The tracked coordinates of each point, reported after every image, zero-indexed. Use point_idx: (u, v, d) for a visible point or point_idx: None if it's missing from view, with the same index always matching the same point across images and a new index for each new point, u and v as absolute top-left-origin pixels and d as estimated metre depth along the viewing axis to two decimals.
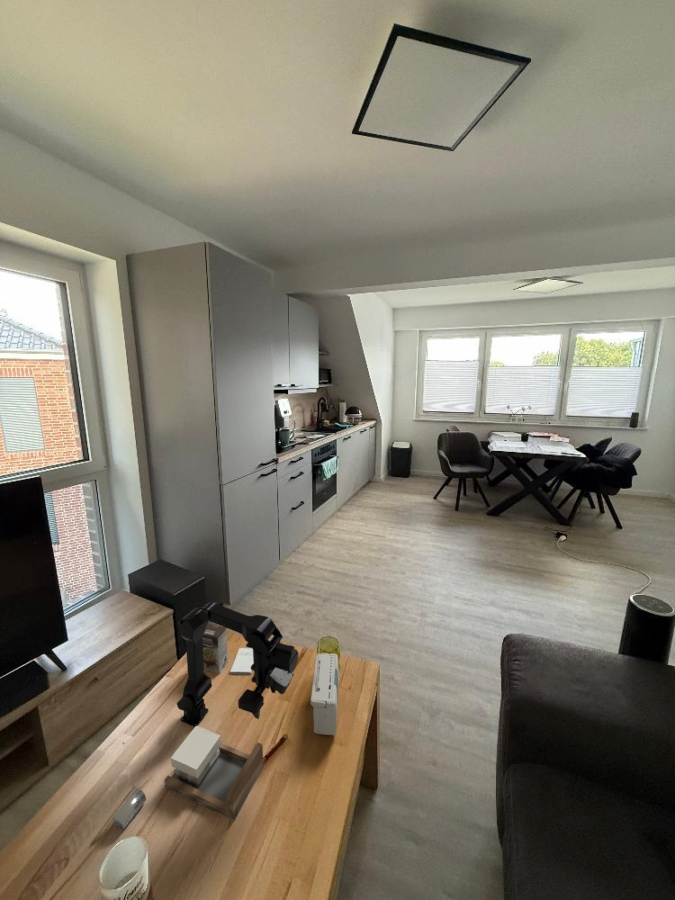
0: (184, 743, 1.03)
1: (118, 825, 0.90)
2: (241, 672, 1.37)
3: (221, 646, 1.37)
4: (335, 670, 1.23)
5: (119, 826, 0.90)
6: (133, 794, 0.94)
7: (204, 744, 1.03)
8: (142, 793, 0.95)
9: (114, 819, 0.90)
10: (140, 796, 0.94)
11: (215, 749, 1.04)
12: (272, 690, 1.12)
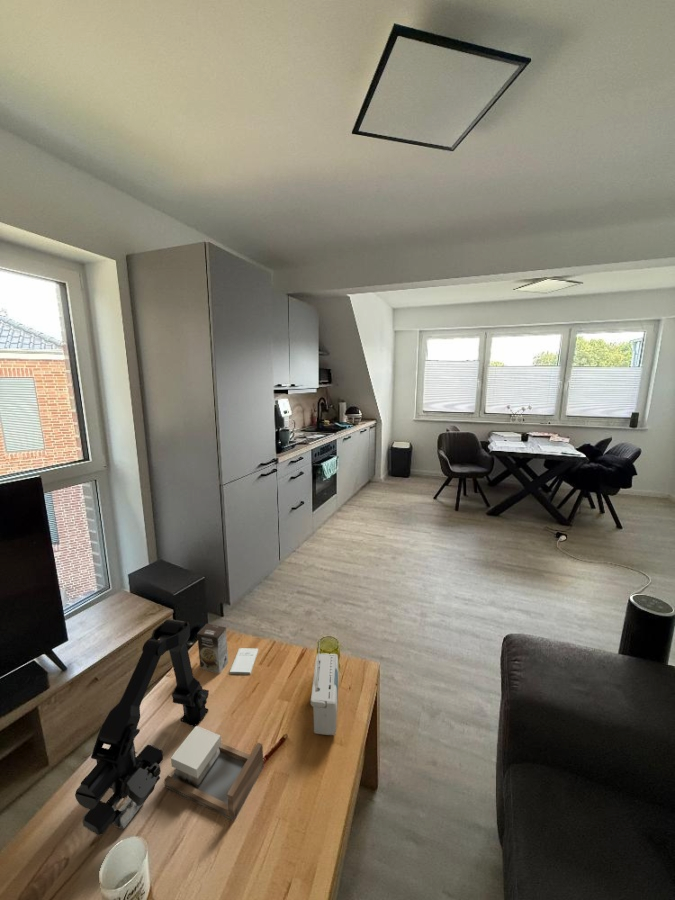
0: (184, 743, 1.03)
1: None
2: (241, 672, 1.37)
3: (221, 646, 1.37)
4: (335, 670, 1.23)
5: None
6: None
7: (204, 744, 1.03)
8: None
9: None
10: None
11: (215, 749, 1.04)
12: None
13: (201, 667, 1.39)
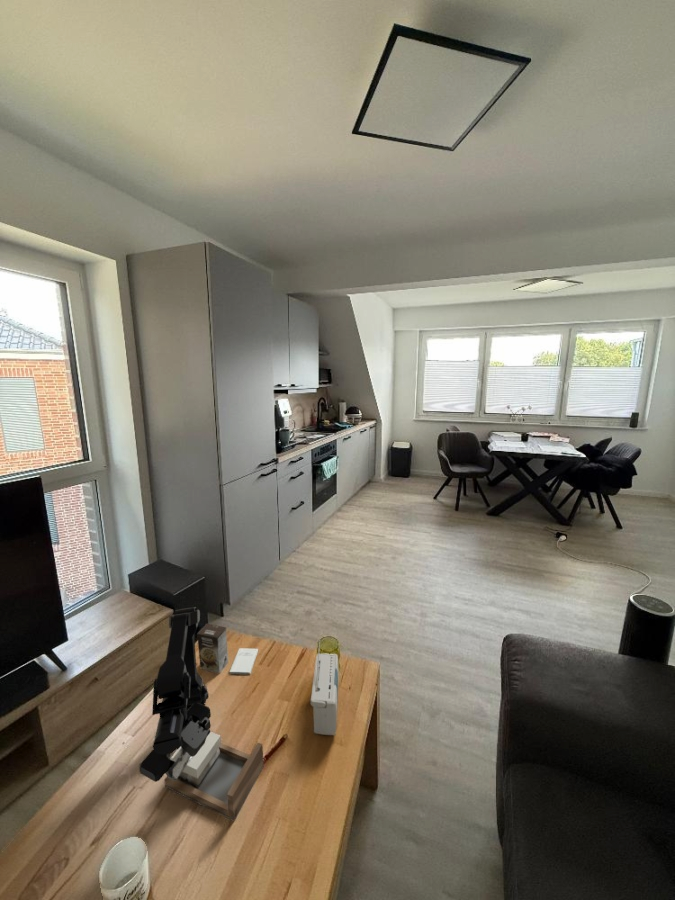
0: None
1: None
2: (240, 672, 1.37)
3: (221, 646, 1.37)
4: (335, 670, 1.23)
5: None
6: None
7: (204, 744, 1.03)
8: None
9: None
10: None
11: (215, 749, 1.04)
12: None
13: (201, 667, 1.39)
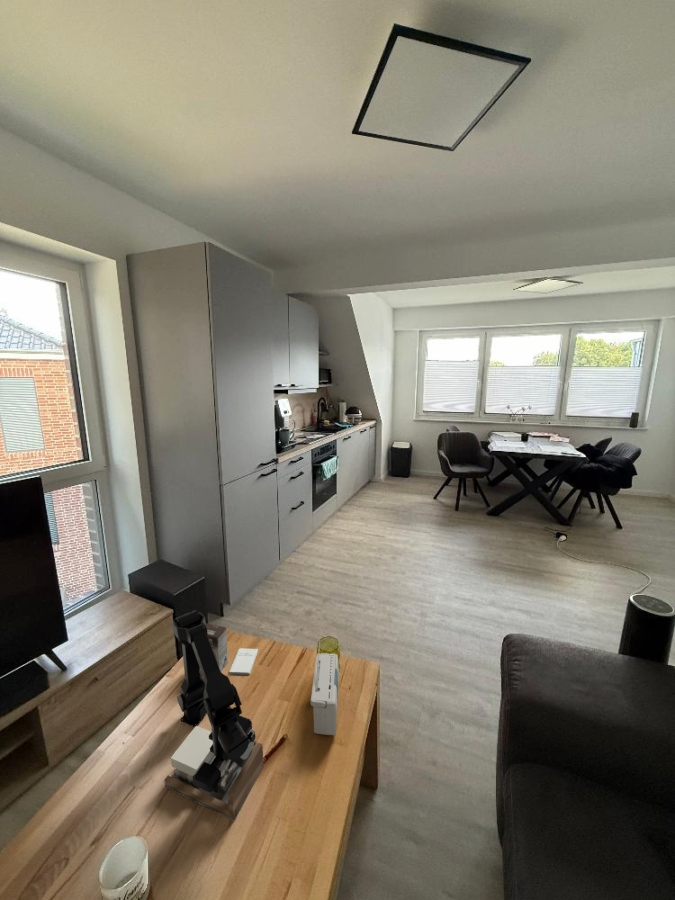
0: (184, 743, 1.03)
1: (219, 788, 0.97)
2: (240, 672, 1.37)
3: (221, 646, 1.37)
4: (335, 670, 1.23)
5: (220, 790, 0.97)
6: (229, 761, 1.01)
7: (204, 744, 1.03)
8: None
9: None
10: (235, 763, 1.01)
11: None
12: None
13: None
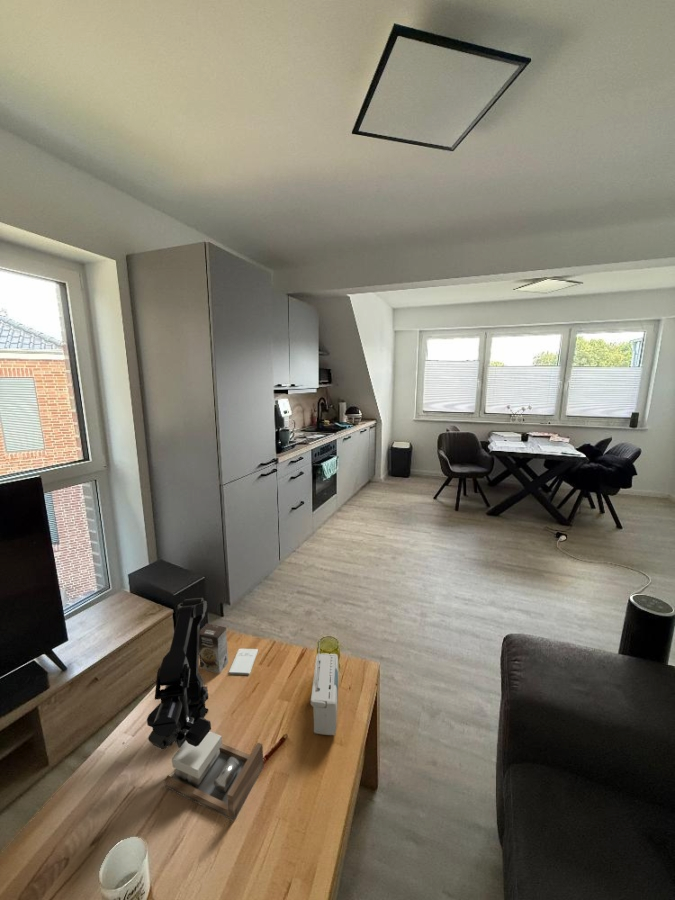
0: (185, 744, 1.03)
1: (219, 788, 0.97)
2: (240, 673, 1.37)
3: (221, 646, 1.37)
4: (335, 670, 1.23)
5: (220, 790, 0.97)
6: (229, 762, 1.01)
7: (205, 745, 1.03)
8: (237, 761, 1.02)
9: (215, 783, 0.97)
10: (236, 764, 1.01)
11: (216, 749, 1.03)
12: None
13: (201, 667, 1.39)
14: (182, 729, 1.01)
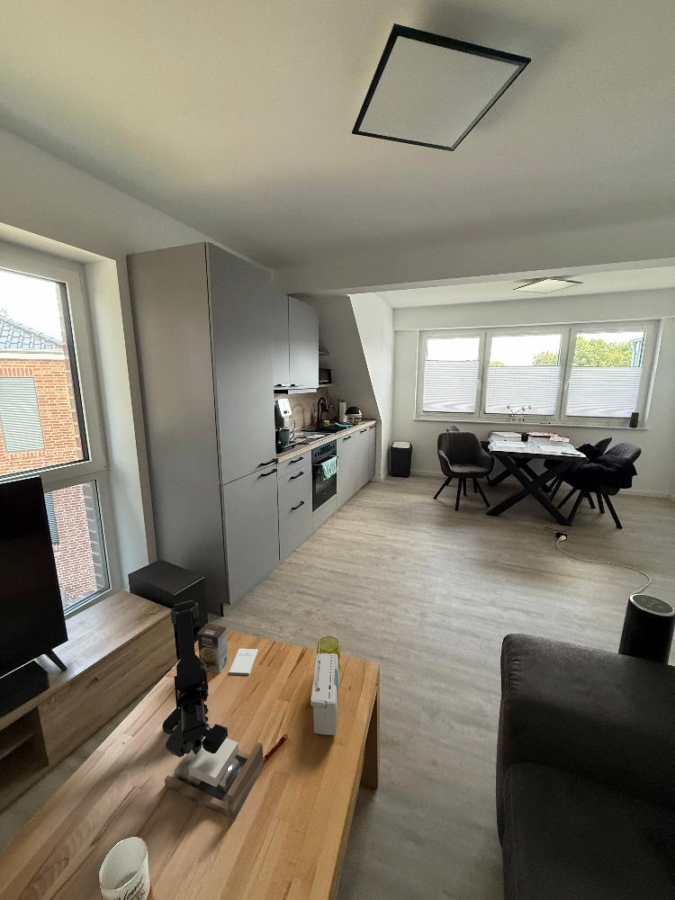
0: (201, 751, 1.01)
1: (219, 788, 0.97)
2: (240, 673, 1.37)
3: (221, 646, 1.37)
4: (335, 670, 1.23)
5: (220, 790, 0.97)
6: None
7: (222, 752, 1.01)
8: (237, 761, 1.02)
9: None
10: (236, 764, 1.01)
11: (233, 756, 1.02)
12: None
13: None
14: None
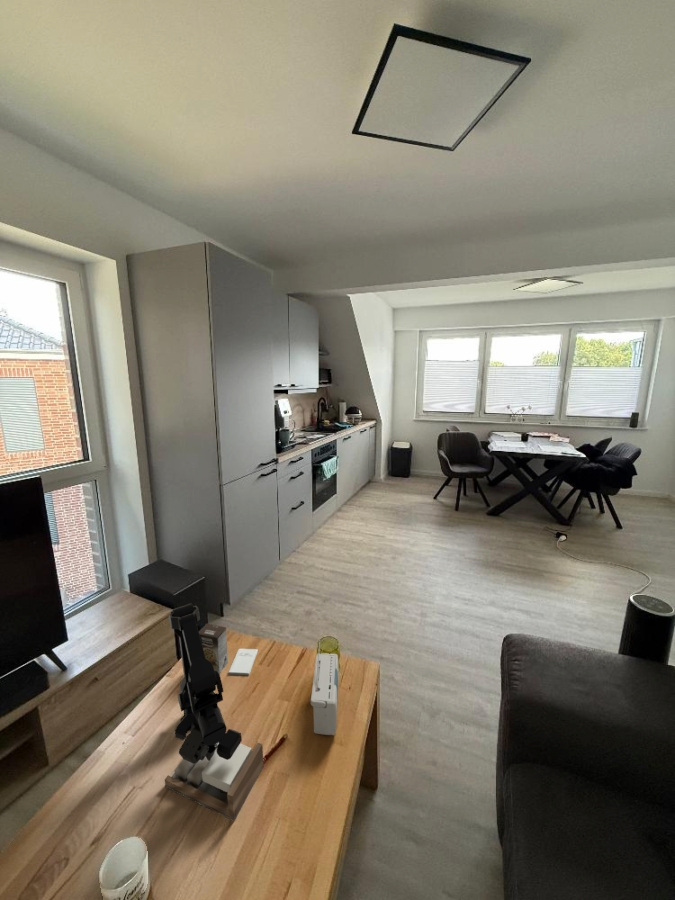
0: (214, 756, 0.99)
1: None
2: (239, 673, 1.37)
3: (221, 646, 1.37)
4: (335, 670, 1.23)
5: (220, 790, 0.97)
6: None
7: (235, 758, 0.99)
8: None
9: None
10: None
11: None
12: None
13: None
14: None
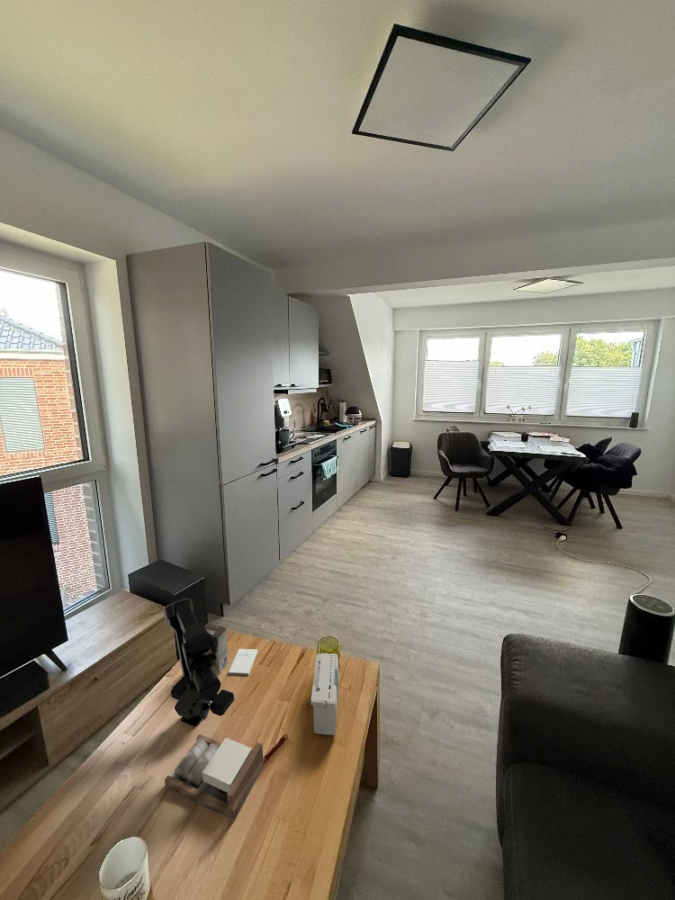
0: (215, 756, 0.99)
1: None
2: (239, 673, 1.37)
3: (221, 646, 1.37)
4: (335, 670, 1.23)
5: (220, 790, 0.97)
6: None
7: (236, 758, 0.99)
8: None
9: None
10: None
11: None
12: None
13: None
14: (206, 700, 1.02)
